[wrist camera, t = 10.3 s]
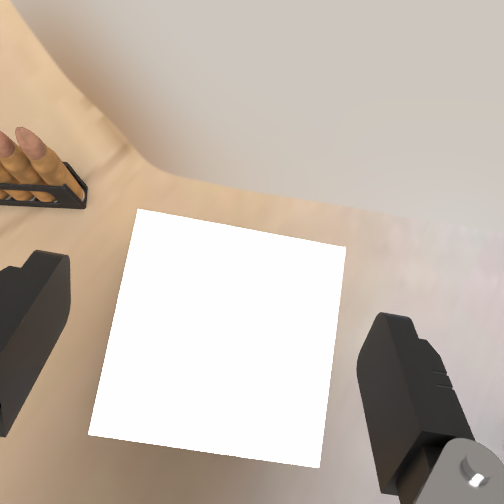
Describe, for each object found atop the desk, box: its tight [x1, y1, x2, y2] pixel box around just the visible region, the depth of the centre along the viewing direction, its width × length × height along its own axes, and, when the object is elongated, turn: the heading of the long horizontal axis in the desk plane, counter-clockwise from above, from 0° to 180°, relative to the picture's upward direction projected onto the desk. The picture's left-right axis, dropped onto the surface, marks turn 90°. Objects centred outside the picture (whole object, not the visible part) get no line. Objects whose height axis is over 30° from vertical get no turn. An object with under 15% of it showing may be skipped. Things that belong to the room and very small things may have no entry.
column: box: [88, 209, 346, 468], centre depth 18 cm, size 4×4×20 cm
